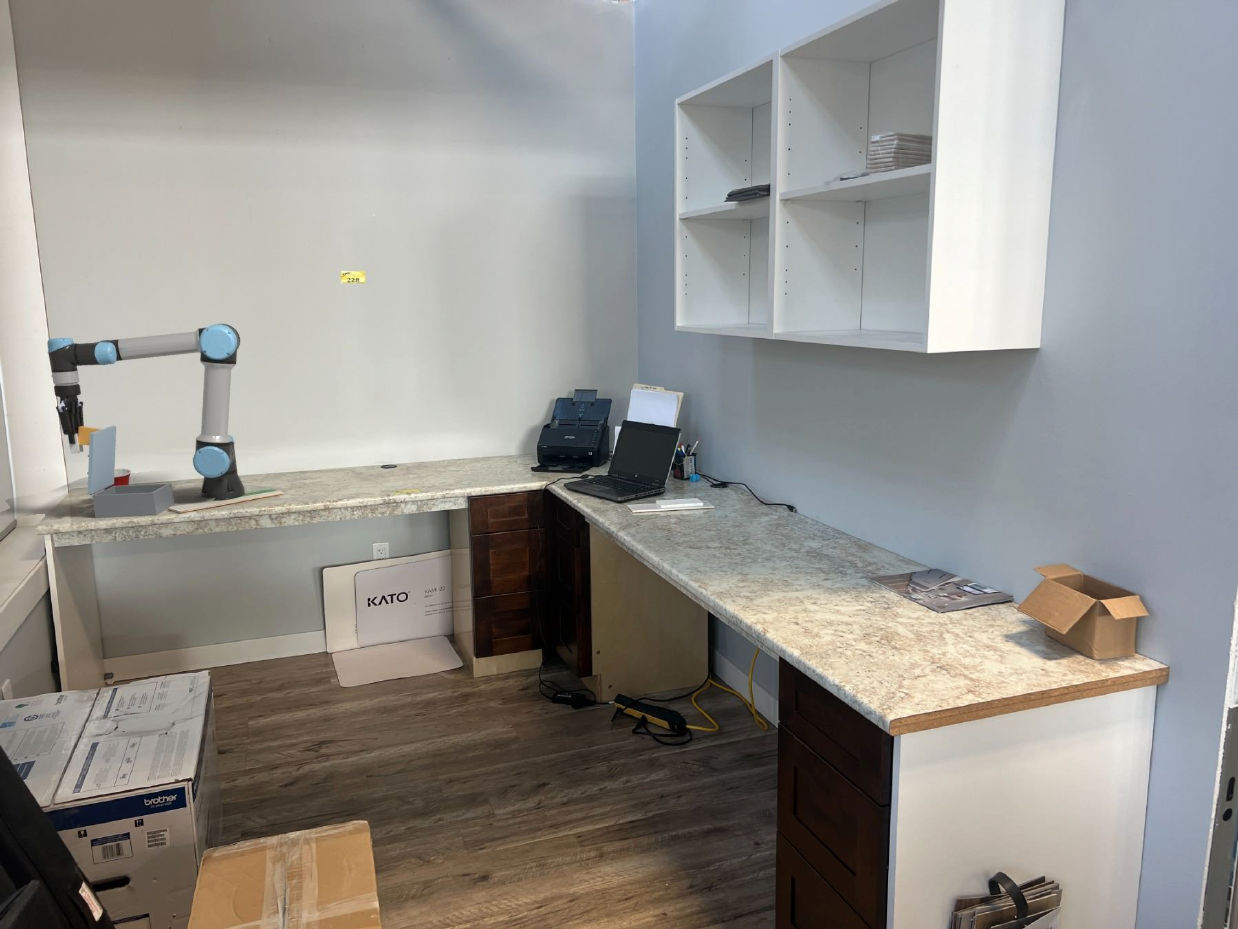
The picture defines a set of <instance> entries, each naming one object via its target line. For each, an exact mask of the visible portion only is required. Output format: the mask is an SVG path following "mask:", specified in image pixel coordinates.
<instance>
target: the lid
mask: <svg viewBox="0 0 1238 929" xmlns="http://www.w3.org/2000/svg"><path fill="white" fill-rule="evenodd" d="M116 437H117V426H116V425H111V426H107V427H105V428H100V427H99V428H98V427H92V426H91V427H89V426H85V425H84V426H80V427H79V435H78V442H79V444H81V445H83V446H88V455H87V457H88V467H87V468H88V472H87V475H88V476H87V495H89V496H93V495H95V494H97V493H99V492H102V491H104V490H105V489H106V488H108V487H110V486H112V485H113V484H114V470H115V469H116V466H115V464H116V445H117V444H116V442H117V438H116Z"/></svg>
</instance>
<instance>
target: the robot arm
mask: <svg viewBox="0 0 1238 929" xmlns="http://www.w3.org/2000/svg"><path fill="white" fill-rule="evenodd" d="M46 344H47V354H48V358H49V360H48V361H49V363H50V364H49V365H50V370H51V376H50V377H51V378H52V382H53V385H54V386H53V391H54V395H55V397H59V405H57V406H56V407H55V409H56V411H57V414H58V417H59V422H60V425H61V430H62V433H63V435H64V436H67V439H68V444H69V446H68V447H69V452H70V454H80V453H83V452H84V447H83V446H84V445H81V444H79V442H78V435H79V427H80V426H84V427H85V423H84V410H83V409H84V401H82V400H81V401H79V398H78V396H80V395H81V394H82V391H81V385H80V383H79V382H80V377H79V371H78V366H81V367H82V366H106V365H114V364H116V362H119V361H120V362H121V361H129V360H137V359H138V360H139V359H149V358H160V357H171V356H178V355H189V354H198V353H199V354H200V357H199V358H200V359H199V361H200V363H201V364H202V365H203V366H204V373H203V375H204V376H203V389H202V390H203V392H202V393H203V395H202V407H201V408H202V409H201V410H202V411H201V426H200V427H201V430H200V434H199V435H197V437H196V438H195V451H194V454H193V457H192V465H193V468H194V470H195V471H196V472H197V473H198V474H199V475H200V476H203V482H202V485H201V489H200V497H201V498H203V499H213V501H220V500H219V499H224V500H227V499H226V498H231V499H235V498H239V497H241V496H242V497H243V495H245V494H246V491H245V490H246V489H245V486H244V484H243V481H241V478H240V476H239V473H238V468H237V467H238V466H237V458H236V451H235V441H234V436H232V435H231V434H228V431H229V414H230V399H231V381H232V380H231V379H232V369H233V368H234V367H235V366H237V358H238V357H237V356H238V349H239V347H240V345H241V337H240V333H239V332H238V331H237V329H236V328H234V327H233V326H232V325H230V324H227V323H217V324H216V323H215V324H211V325H209V326H207V327H201V328H196V331H187V332H178V333H168V334H166V333H165V334H157V335H149V336H148V335H147V336H139V337H130V338H129V337H127V338H119V339H103V340H100V341H97V342H96V341H95V342H84V343H83V342H82V343H76V342H74V340H73V337H72V338H71V337H55V338H49V339H48V340H47V343H46Z"/></svg>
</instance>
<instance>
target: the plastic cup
mask: <svg viewBox="0 0 1238 929" xmlns="http://www.w3.org/2000/svg"><path fill="white" fill-rule="evenodd" d="M131 473H132V470H131V469H129V468H115V470H114V484H113V485H112V486H123V485H130V475H131ZM112 486H110V487H112ZM110 487H108V488H110ZM108 488H106V489H108ZM106 489H104V490H106Z"/></svg>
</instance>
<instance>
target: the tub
mask: <svg viewBox="0 0 1238 929" xmlns="http://www.w3.org/2000/svg"><path fill="white" fill-rule="evenodd" d="M173 493H174V491H173V486H172V483H171V482H169V483H167V482H166V483H148V484H146V483H145V484H129V485H123V486H112V487H110V488H108V489H106V490H105V489H103V490H101V491H99V492H97V493H95V494H93V495H91V497H92V505H93V511H94V517H95V519H108V518H111V519H112V518H125V517H130V518H131V517H146V516H147V517H149V516H150V517H151V516H157V515H158V516H159V514H161V513H163V512H164V511H167V510H168V509H169V508H171V507H173V506H174V505H175V500H174V499H175V498H174V494H173Z"/></svg>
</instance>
